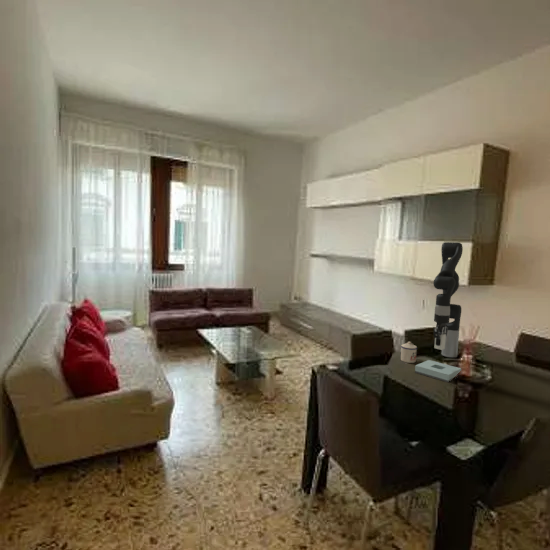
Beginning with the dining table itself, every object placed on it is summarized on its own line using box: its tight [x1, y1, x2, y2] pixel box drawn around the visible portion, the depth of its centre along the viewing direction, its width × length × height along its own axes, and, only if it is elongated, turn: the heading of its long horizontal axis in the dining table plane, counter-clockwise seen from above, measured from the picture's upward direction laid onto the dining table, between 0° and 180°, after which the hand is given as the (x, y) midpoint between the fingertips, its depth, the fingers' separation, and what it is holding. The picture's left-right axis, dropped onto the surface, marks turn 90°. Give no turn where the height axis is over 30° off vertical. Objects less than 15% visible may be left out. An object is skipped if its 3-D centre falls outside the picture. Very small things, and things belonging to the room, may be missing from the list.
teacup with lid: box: [400, 341, 418, 364], centre depth 226 cm, size 12×9×12 cm
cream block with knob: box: [433, 332, 446, 351], centre depth 202 cm, size 4×4×9 cm
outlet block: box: [414, 359, 462, 383], centre depth 203 cm, size 16×18×4 cm
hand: (439, 344), depth 202 cm, fingers closed on cream block with knob, 4 cm apart
